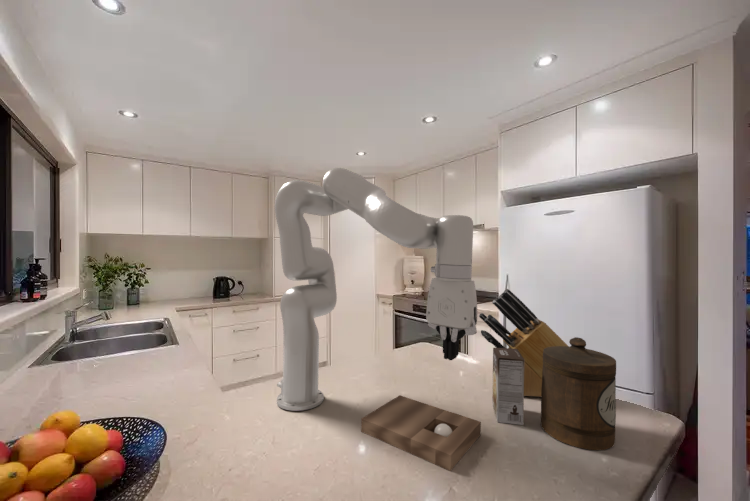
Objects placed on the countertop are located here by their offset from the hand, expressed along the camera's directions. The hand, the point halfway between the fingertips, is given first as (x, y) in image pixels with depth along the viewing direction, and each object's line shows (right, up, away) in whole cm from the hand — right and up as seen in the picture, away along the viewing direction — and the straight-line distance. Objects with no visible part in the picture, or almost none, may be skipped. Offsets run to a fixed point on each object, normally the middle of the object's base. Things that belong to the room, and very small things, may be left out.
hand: (450, 358), depth 72 cm
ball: (-1, -17, 0) cm, 17 cm away
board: (-6, -19, +4) cm, 20 cm away
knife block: (+34, -20, +29) cm, 48 cm away
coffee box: (+18, -19, +13) cm, 29 cm away
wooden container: (+31, -19, +6) cm, 37 cm away
